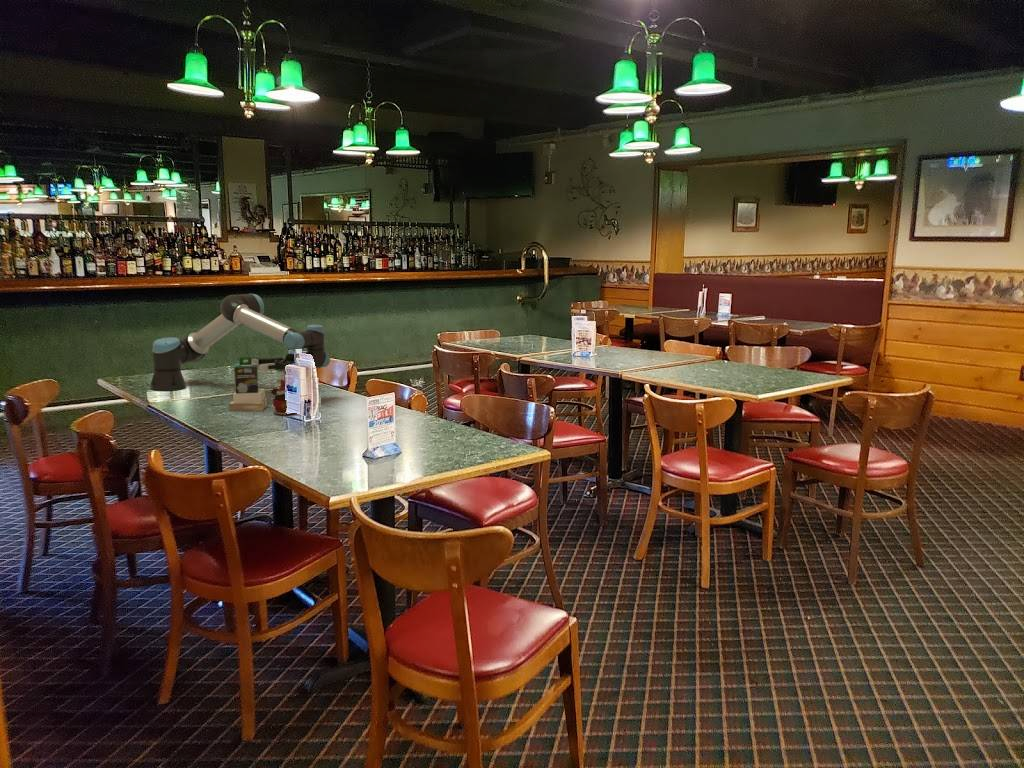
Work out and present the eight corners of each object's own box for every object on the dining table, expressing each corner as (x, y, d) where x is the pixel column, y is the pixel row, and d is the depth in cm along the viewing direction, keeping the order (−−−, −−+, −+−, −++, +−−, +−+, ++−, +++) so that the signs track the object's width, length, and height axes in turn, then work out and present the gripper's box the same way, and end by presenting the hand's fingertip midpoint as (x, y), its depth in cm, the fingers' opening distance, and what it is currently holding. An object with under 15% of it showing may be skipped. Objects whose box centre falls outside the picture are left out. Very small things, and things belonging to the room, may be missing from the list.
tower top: (238, 397, 318) (237, 388, 317) (264, 397, 320) (264, 388, 319) (233, 403, 307) (233, 393, 306) (261, 402, 309) (261, 393, 308)
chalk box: (257, 388, 318) (256, 354, 316) (258, 392, 310) (257, 357, 307) (234, 389, 315) (233, 355, 312) (235, 393, 306) (234, 358, 304)
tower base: (236, 406, 319) (236, 397, 318) (267, 406, 321) (267, 397, 320) (229, 413, 306) (228, 403, 305) (261, 413, 308) (261, 403, 307)
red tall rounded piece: (297, 410, 311) (297, 368, 308) (299, 415, 303) (299, 372, 300) (271, 411, 308) (270, 368, 305) (272, 416, 299) (271, 372, 296)
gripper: (312, 373, 319) (267, 378, 304) (281, 366, 336) (237, 370, 320) (312, 356, 318) (267, 360, 303) (281, 350, 335) (237, 353, 319)
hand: (251, 365), depth 311 cm, fingers open, 13 cm apart
